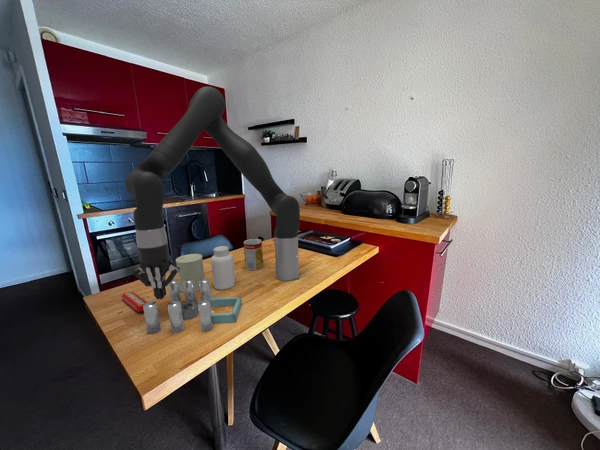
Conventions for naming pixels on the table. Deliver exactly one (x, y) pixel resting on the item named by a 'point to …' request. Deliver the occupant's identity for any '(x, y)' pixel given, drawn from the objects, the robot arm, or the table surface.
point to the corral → (226, 316)
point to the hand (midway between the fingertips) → (160, 297)
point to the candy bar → (134, 301)
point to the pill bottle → (222, 268)
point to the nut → (189, 310)
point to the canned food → (253, 254)
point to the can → (190, 269)
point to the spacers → (175, 306)
